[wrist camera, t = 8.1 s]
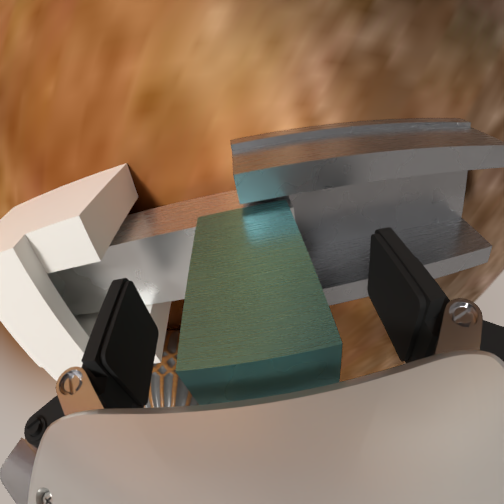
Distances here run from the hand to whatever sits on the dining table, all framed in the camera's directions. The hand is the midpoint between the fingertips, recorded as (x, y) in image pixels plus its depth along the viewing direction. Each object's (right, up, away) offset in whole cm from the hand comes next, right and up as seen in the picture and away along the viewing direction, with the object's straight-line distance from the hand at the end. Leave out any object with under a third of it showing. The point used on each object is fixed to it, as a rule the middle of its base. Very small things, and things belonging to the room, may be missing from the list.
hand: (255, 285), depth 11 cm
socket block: (-9, +2, +6) cm, 11 cm away
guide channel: (+6, +5, +5) cm, 9 cm away
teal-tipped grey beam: (-5, +2, +4) cm, 7 cm away
